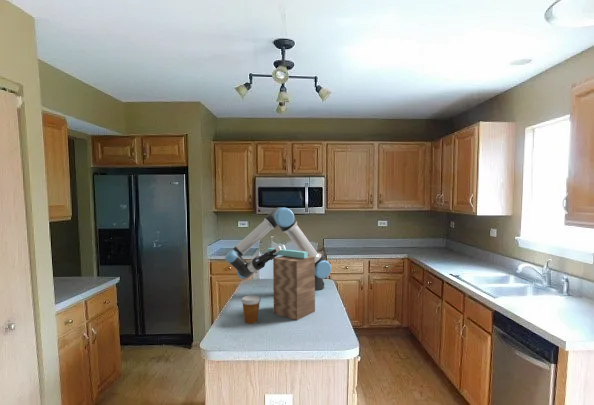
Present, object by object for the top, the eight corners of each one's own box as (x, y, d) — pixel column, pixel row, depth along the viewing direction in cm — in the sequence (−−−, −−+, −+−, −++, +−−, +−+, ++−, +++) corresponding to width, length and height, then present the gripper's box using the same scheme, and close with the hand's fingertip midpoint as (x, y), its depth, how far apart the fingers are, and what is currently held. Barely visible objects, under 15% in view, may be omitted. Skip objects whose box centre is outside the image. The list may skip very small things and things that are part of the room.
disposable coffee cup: (245, 326, 156) (245, 301, 156) (239, 320, 165) (239, 296, 165) (263, 322, 161) (263, 298, 161) (256, 316, 169) (256, 294, 169)
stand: (273, 313, 174) (273, 258, 173) (292, 305, 186) (291, 254, 186) (297, 320, 164) (296, 261, 164) (315, 311, 177) (314, 256, 176)
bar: (267, 253, 185) (267, 248, 185) (271, 252, 187) (271, 247, 187) (304, 258, 169) (304, 252, 169) (307, 257, 171) (307, 251, 171)
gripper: (268, 267, 198) (293, 251, 185) (249, 272, 185) (275, 255, 172) (263, 256, 200) (288, 239, 187) (244, 260, 187) (270, 242, 175)
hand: (282, 247), depth 180 cm, fingers closed on bar, 3 cm apart
